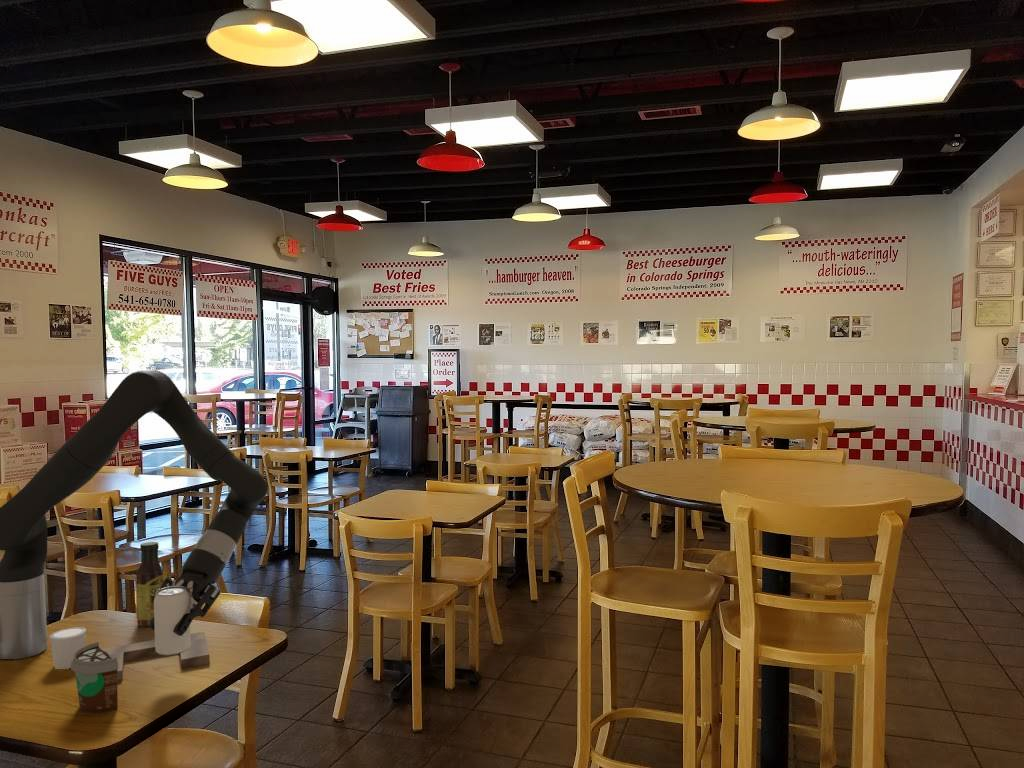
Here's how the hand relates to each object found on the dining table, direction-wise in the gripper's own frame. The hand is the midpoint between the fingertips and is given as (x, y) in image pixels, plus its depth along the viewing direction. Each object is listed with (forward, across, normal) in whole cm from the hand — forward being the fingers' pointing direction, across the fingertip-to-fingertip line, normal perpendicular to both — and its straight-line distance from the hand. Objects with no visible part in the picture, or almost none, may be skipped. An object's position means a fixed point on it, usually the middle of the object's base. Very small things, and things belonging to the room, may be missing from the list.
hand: (165, 631), depth 147 cm
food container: (+16, -7, 0) cm, 17 cm away
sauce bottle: (-9, -34, +26) cm, 44 cm away
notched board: (+2, -14, +14) cm, 20 cm away
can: (+2, 0, +4) cm, 5 cm away
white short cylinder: (+8, -29, +9) cm, 32 cm away
